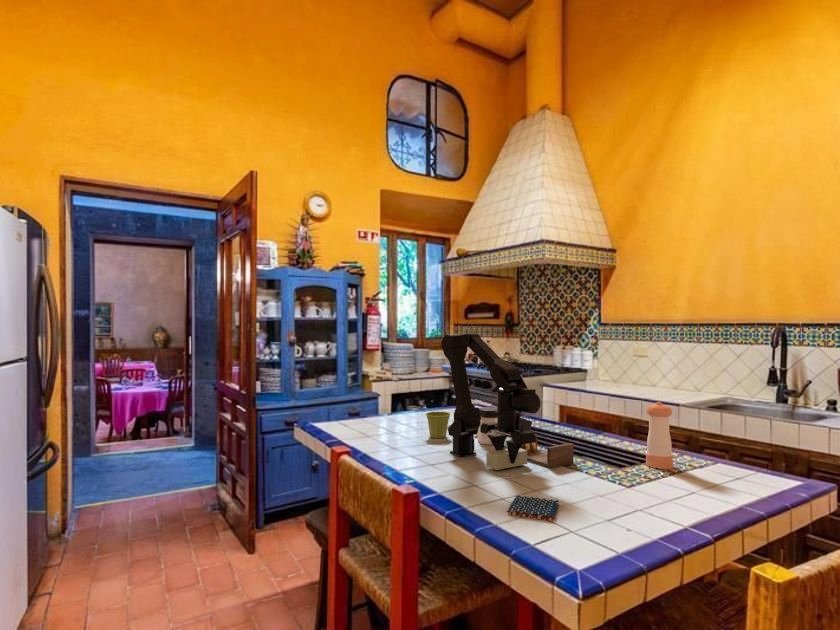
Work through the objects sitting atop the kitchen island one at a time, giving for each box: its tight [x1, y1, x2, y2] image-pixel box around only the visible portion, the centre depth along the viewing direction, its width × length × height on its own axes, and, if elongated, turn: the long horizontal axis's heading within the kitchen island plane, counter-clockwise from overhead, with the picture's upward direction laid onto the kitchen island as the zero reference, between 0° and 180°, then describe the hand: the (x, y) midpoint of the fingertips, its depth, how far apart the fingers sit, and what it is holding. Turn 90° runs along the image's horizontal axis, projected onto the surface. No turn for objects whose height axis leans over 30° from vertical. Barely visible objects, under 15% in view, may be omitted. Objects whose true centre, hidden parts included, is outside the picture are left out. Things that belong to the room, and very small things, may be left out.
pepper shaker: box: [645, 401, 674, 470], centre depth 151 cm, size 7×7×19 cm
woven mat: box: [506, 494, 560, 522], centre depth 115 cm, size 10×11×2 cm
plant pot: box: [425, 411, 451, 439], centre depth 189 cm, size 9×9×9 cm
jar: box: [477, 406, 497, 446], centre depth 181 cm, size 9×8×12 cm
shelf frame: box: [520, 433, 575, 469], centre depth 158 cm, size 16×10×6 cm, turn 32°
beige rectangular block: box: [485, 448, 528, 471], centre depth 149 cm, size 12×4×4 cm, turn 122°
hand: (507, 461), depth 149 cm, fingers closed on beige rectangular block, 4 cm apart
